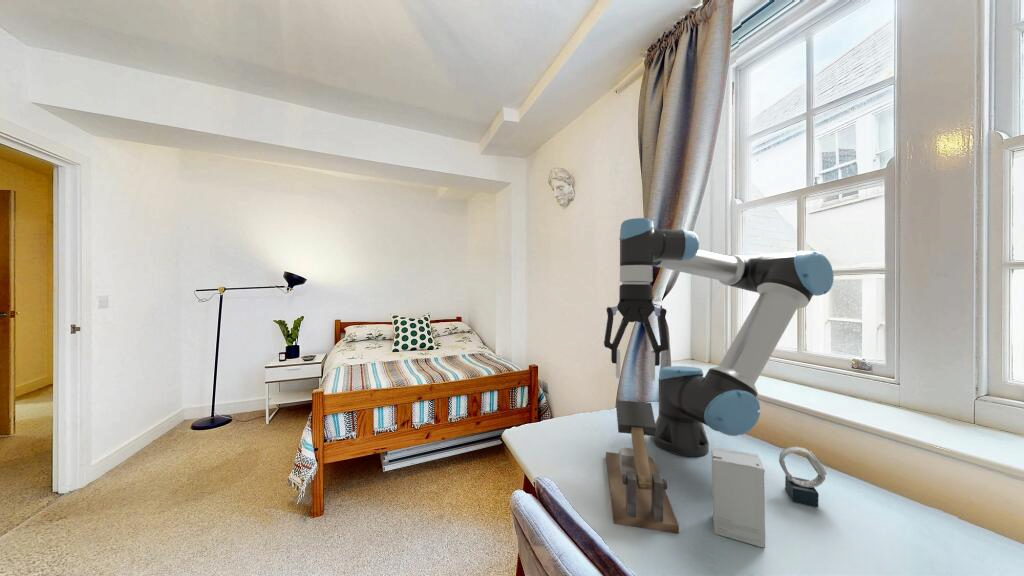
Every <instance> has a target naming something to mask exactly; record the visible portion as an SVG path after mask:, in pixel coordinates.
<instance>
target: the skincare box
mask: <svg viewBox="0 0 1024 576" xmlns="http://www.w3.org/2000/svg"><path fill="white" fill-rule="evenodd" d="M710 452H711V487H712V489H711V490H712V493H711V494H712V495H711V496H712V517H713V518H712V520H713V531H714V534H715V535H718V536H722V537H725V538H728V539H733V540H736V541H740V542H743V543H746V544H750V545H753V546H756V547H760V548H763V549H765V548H766V512H765V511H766V507H765V503H766V502H765V500H766V499H765V468H764V466H763V462H762V460H761V458H760V456H759V454H757V453H756V454H755V453H750V452H743V451H738V450H733V449H726V448H721V447H716V446H711V451H710Z"/></svg>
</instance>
